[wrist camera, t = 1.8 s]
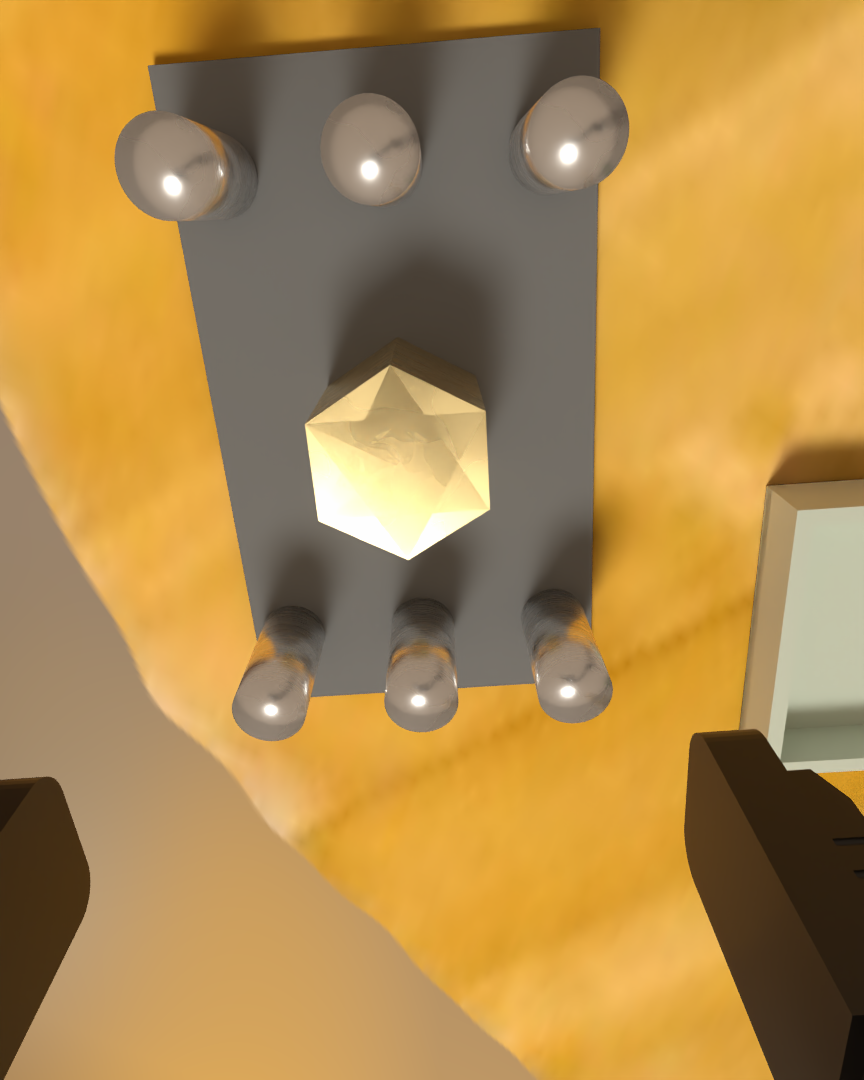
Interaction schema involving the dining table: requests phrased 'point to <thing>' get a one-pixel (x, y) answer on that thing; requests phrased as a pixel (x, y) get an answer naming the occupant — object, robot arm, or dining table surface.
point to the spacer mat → (400, 334)
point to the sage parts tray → (809, 627)
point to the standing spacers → (383, 181)
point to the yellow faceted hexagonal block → (400, 450)
